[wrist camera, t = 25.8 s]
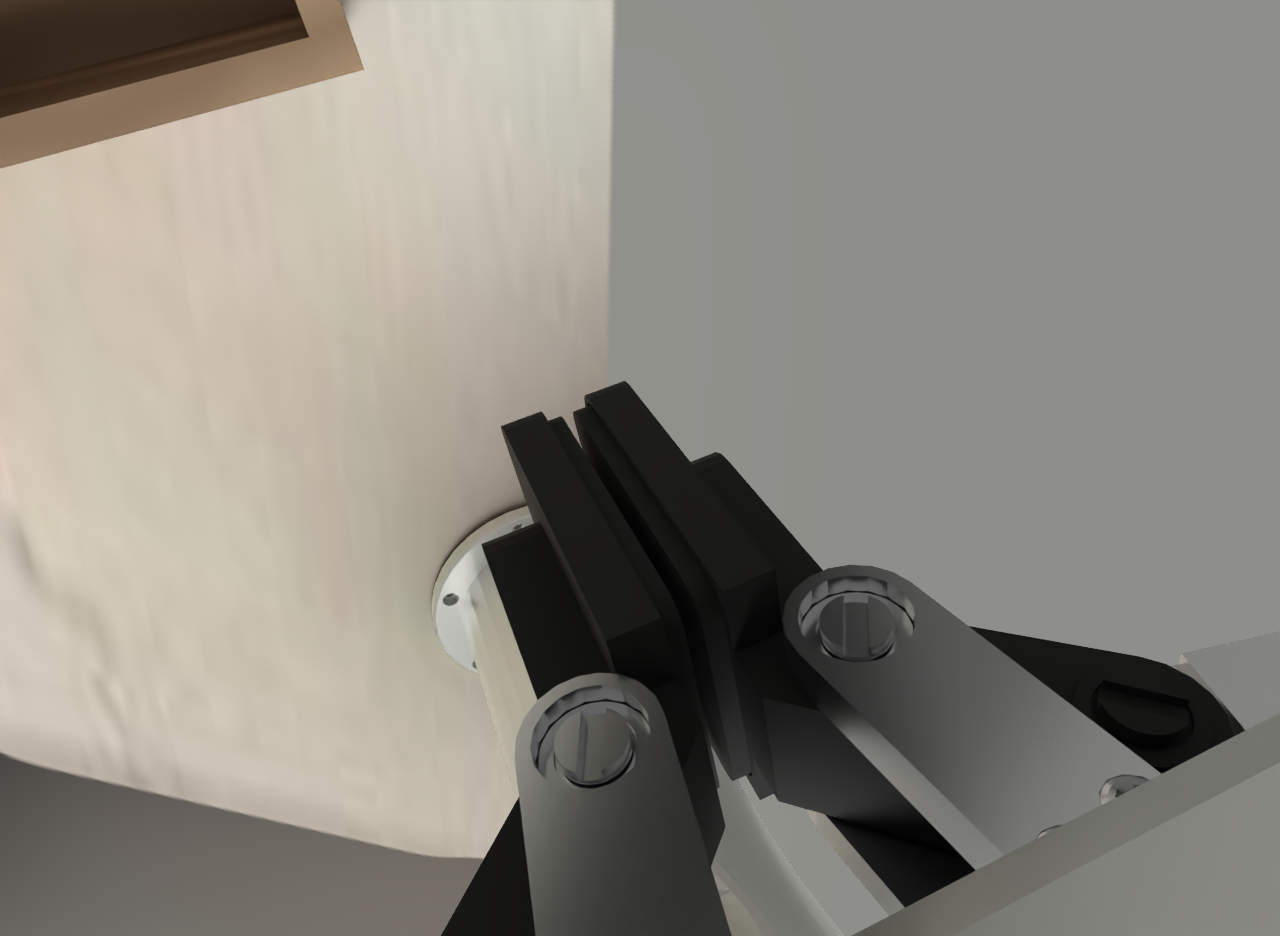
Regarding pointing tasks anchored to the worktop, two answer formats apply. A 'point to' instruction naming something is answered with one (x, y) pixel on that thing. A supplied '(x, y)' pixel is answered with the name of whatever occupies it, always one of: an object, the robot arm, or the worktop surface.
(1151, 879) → the robot arm
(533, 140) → the worktop surface
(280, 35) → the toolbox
